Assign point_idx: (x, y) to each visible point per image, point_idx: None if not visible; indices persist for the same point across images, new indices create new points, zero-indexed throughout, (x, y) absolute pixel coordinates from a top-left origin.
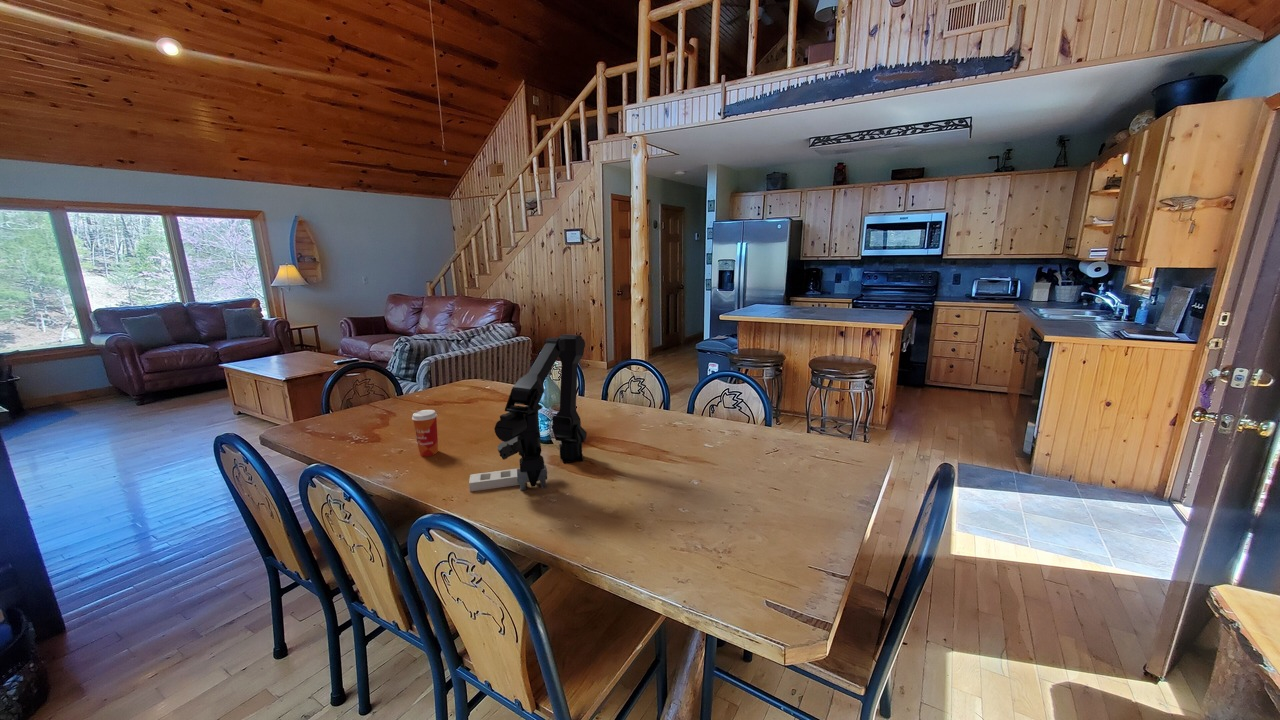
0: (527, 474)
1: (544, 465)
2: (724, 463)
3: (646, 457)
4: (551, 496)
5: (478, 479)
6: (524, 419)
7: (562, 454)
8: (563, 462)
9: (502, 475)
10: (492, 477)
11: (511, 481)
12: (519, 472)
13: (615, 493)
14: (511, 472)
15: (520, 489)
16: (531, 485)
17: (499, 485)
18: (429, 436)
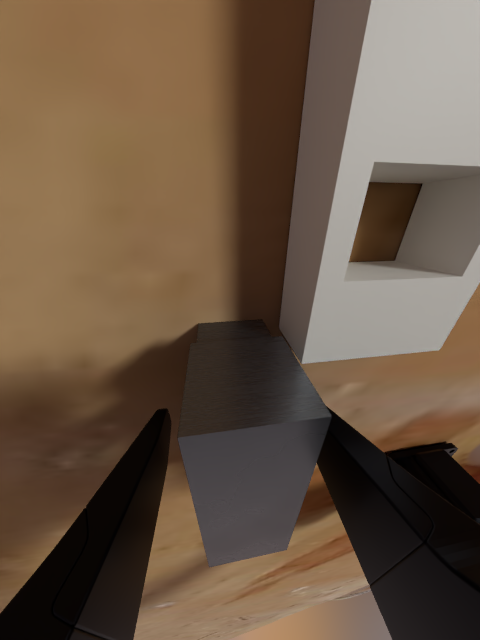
0: (28, 581)
1: (287, 546)
2: (225, 607)
3: (301, 557)
4: (107, 450)
5: None
6: None
7: (430, 482)
8: (389, 456)
9: (458, 192)
10: (463, 3)
11: (299, 277)
12: (206, 453)
13: None
14: (419, 287)
15: (199, 328)
16: (153, 418)
17: (305, 157)
18: None
